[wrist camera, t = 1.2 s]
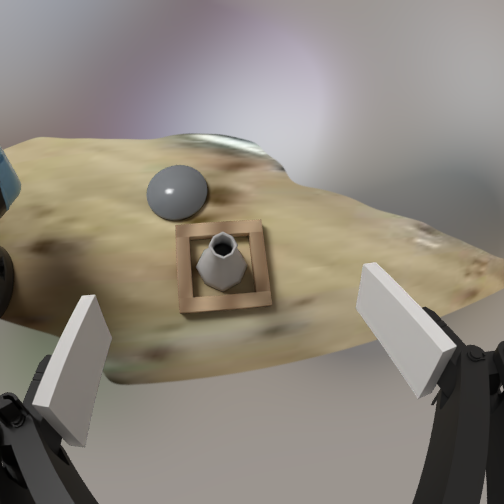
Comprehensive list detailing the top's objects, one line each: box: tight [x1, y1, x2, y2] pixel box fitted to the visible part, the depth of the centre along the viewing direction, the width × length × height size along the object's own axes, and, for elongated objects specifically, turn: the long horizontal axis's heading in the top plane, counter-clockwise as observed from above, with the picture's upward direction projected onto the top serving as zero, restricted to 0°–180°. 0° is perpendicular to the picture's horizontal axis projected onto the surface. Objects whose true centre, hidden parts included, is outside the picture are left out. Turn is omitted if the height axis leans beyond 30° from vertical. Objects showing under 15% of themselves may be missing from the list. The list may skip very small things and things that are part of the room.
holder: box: [176, 219, 272, 314], centre depth 43 cm, size 13×13×2 cm
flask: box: [196, 232, 248, 292], centre depth 39 cm, size 7×7×10 cm
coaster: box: [147, 165, 207, 220], centre depth 46 cm, size 10×10×1 cm
